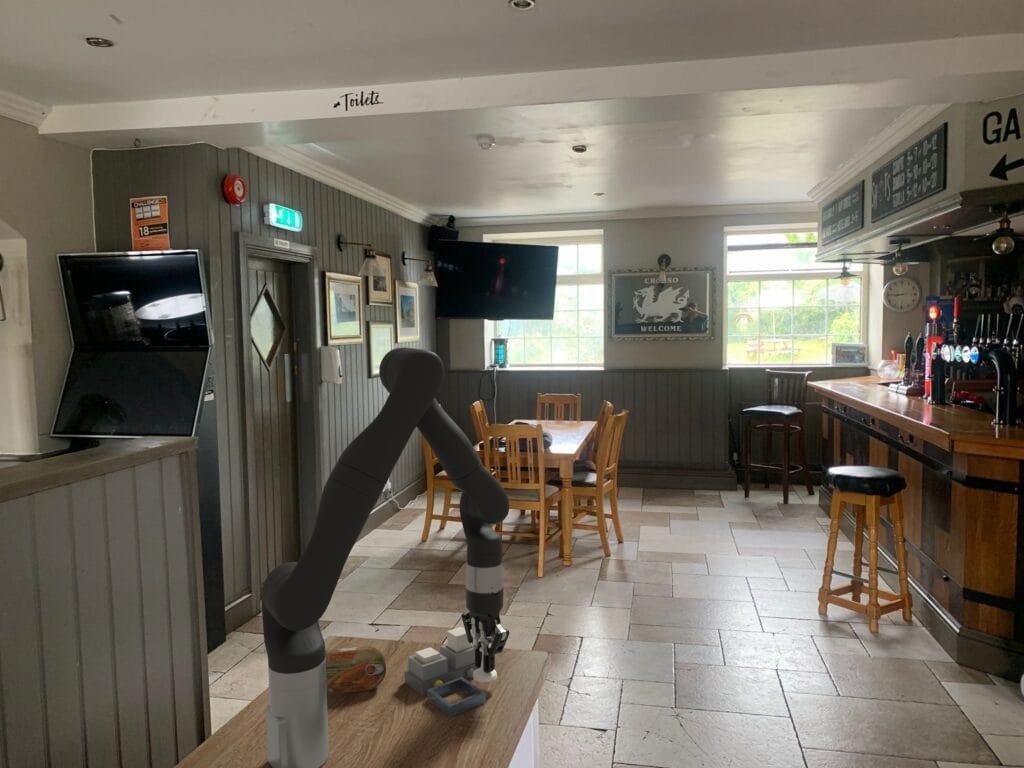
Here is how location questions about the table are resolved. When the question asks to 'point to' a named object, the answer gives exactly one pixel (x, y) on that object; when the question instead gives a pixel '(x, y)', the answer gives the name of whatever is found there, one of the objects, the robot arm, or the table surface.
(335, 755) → the table surface
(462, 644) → the breaker
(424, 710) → the table surface
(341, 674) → the tin
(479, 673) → the chess piece
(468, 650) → the yellow-knobbed grey box
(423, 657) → the white square block
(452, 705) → the frame
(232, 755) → the table surface
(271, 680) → the robot arm
